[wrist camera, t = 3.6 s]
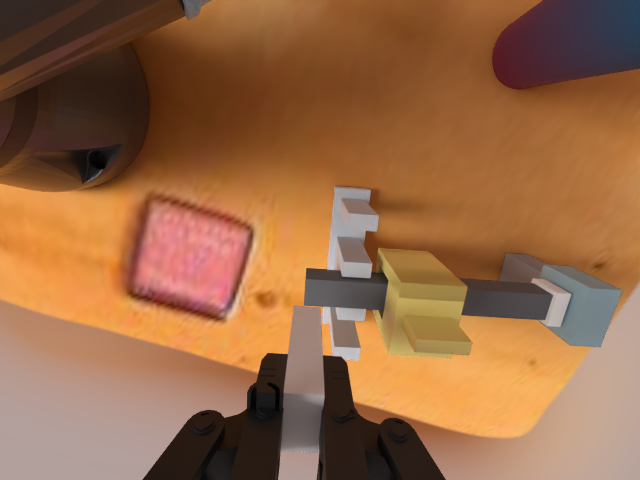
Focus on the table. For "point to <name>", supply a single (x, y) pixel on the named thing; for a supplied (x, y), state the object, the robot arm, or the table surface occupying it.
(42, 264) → the table surface
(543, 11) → the cup
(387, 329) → the sleeve
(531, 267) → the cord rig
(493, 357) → the table surface
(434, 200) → the table surface
